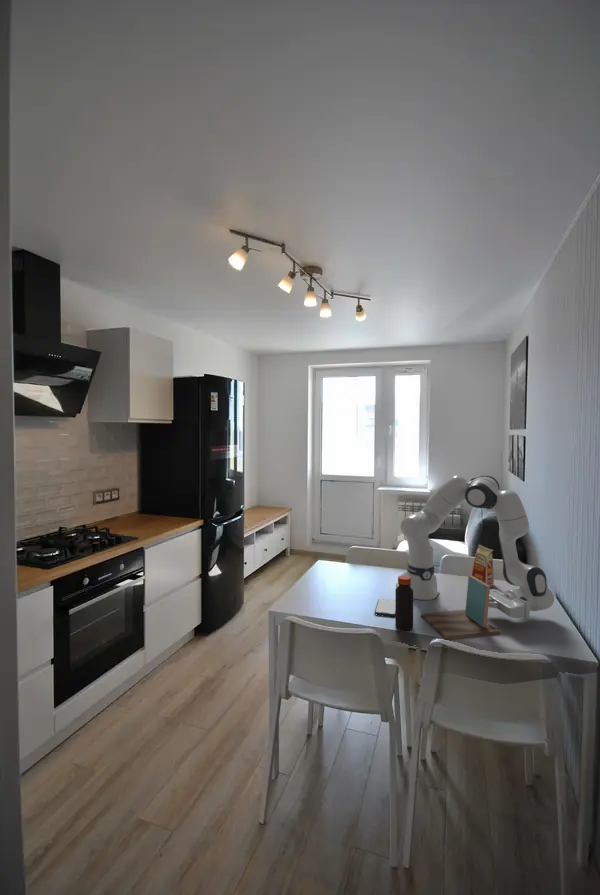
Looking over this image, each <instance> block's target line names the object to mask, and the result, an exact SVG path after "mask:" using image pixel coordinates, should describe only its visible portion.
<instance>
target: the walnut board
mask: <svg viewBox="0 0 600 895" xmlns="http://www.w3.org/2000/svg"><path fill="white" fill-rule="evenodd" d="M465 611H466V608H464V609H456V610H445V611H436V612H423V613H420V617H421V618H422V619H423V620H424V621H425V622H426V623H427V624H428V625H429V626H431V627H432V628H433V630H435V631H436V632H437V633H439V635H440V636H441V637H443V639H445V640H453V639H460V638H461V639H464V638H473V637H474V638H475V637H481V636H482V637H483V636H492V635H499V634H500V630H499V629H498V628H496V627H495V626H493V625H492V624H491V623H489V622H488V621H487V627H482V626H481V625H479V624H478V623H477V622H475V621H474V620H473V619H471V618H470V617H469V616H467V615H466V614H465Z"/></svg>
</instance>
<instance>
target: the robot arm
mask: <svg viewBox="0 0 600 895" xmlns="http://www.w3.org/2000/svg"><path fill="white" fill-rule="evenodd" d="M463 501H466V502H467V504H468V505H469V506H471V507H473V508H476V509H487V510H491V509H493V511H494V512H495V515H496V520H497V523H498V526H499V527H498V528H499V530H498V542H499V546H500V547H499V548H500V552H501V553H500V554H501V556H502V564H503V565H502V567H503V568H502V575H503V577H504V580H505V581H506V583H508V584H509V585H511V586H516V587H519V588H515V589H508V590H506V591H505V592H504V593H503V592H502V591H500V590H498V589H494V588H493V589H492V588H490V595H489V606H488V608H492V609H497V610H499V611H500V612H502V613H503V614H504V615H506V616H507V617H509V618H515V619H516V618H518V619H519V618H525V619H526V618H527V619H529V618H530V614H531V613H530V612H537V611H544V610H548V609H550V608H551V607H553V605H554V603H555V596H554V593H553V591H552V590H551V589H550V588H549V586H548V582H547V575H546V573H545V571H544V570H543V569H542V568H540V567H539V566H538V567H537V566H534V565H531V564H526V563H523V562H522V561H520V559H519V557H518V556H519V555H518V551H517V545H516V542H517V539H519V538H522V537H524V536H525V535H526V534H527V533H528V531H529V529H530V524H529V519H528V515H527V513H526V509H525V507H524V505H523V503H522V501H521V499H520V496H519V494H518V493H517V492H516V491H515V490H514V491H513V490H511V489H510V490H509V489H505V490H501V489H500V484H499V482H498V480H497V479H496V478H495V477H493V476H490V475H482V476H478V477H473V478H471V479H470V480H468V479H467V478H466V477H464V476H462V475H458V474H457V475H454V476H452V477H450V478H449V479H448V480H446V481H444V483H443V484H441V485H440V486H439V487H438V488H437V489H436V490H435V491H434V493H433V494H432V495H431V496H429V497H428V499H427V501H426V504H425V506H423V508H422V509H421V510H419V511H418V512H415V513H411V514H409V515H407V516H406V517H404V518H403V519H402V520H401V522H400V531H401V533H402V534H403V535H404V537H405V538H406V542H407V545H408V562H407V563H406V565H407V566H406V568H407V569H406V570H405V571H404V572H402V574H401V575H406V576H409V577H411V585H410V587H411V588H412V589H413V600H414V599H415V600H419V601H420V600H421V601H428V600H433V599H436V598H437V596H438V595H440V590H439V589H438V579H437V576H436V575H435V565H434V548H433V547H432V546H431V543H430V539H429V535H430V534H433V533H435V532H436V531H437V530H438V529H439V528H440V527H441V525H442V524H443V522H445V520H446V519H447V517H448V516H449V515H450V514H451V513H452V512H453V511H454V510H455V509H456V508H457V507H459V505H460V504H461V503H462V502H463ZM396 586H397V587H398V586H399V584H398V582H397V583H395V587H396ZM397 587H396V588H397Z"/></svg>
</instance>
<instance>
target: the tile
mask: <svg viewBox="0 0 600 895" xmlns="http://www.w3.org/2000/svg"><path fill="white" fill-rule="evenodd" d="M490 589H491V588H490V586H489V585H487V584H486V583H484V582H482V581H480V580H479V579H477V578H475V577H473V576H471V575H468V581H467V590H466V601H465V602H466V603H465V609H466V611H465V614H466V615H467V616H469V617H470V618H471V619H473V620H474V621H475V622H477V623H478V624H479V625H481V626H482V627H487V622H488V617H489V616H488V615H489V607H488V606H489V595H490Z"/></svg>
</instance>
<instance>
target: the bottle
mask: <svg viewBox="0 0 600 895" xmlns="http://www.w3.org/2000/svg"><path fill="white" fill-rule="evenodd" d="M397 583H398V584H399V586H398V587H396V588H395V591H394V592H395V599H394V600H395V617H394V619H395V620H394V621H395V622H394V623H395V625H394V626H395V628H396V629H397V630H398V631H402V632H410V631H412V630H413V629H414V598H413V589H412V588H411V587H410V585H411V577H409V576H406V575H402V574H401V575H399V576H398V577H397Z"/></svg>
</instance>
